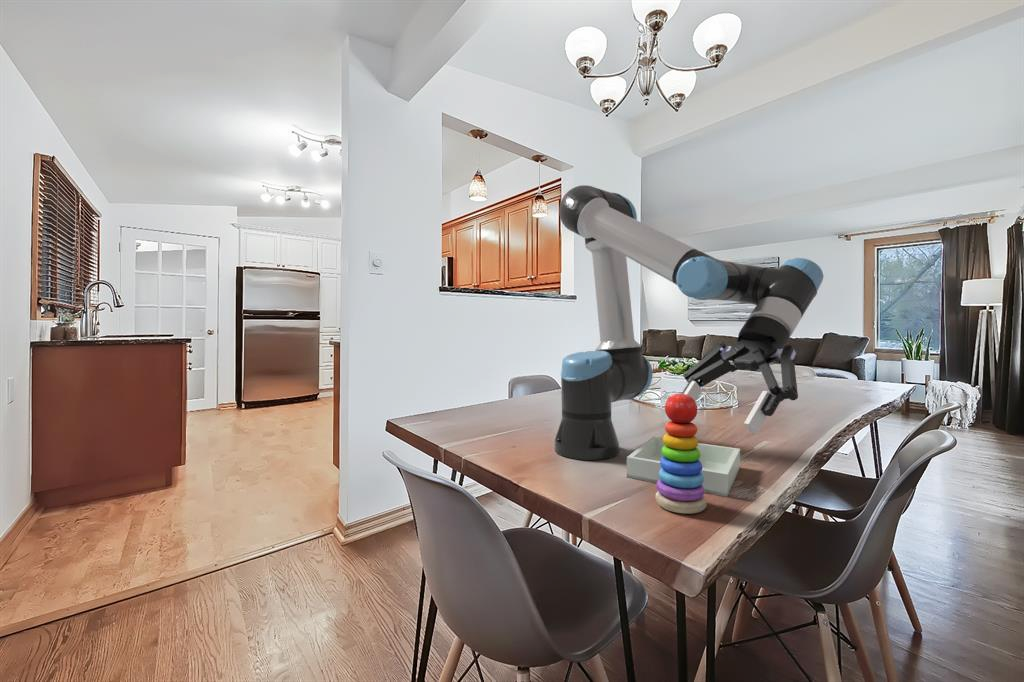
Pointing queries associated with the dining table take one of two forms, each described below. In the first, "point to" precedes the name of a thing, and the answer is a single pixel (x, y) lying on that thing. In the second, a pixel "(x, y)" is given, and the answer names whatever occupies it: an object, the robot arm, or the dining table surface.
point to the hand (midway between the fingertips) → (711, 420)
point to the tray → (715, 460)
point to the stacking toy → (681, 460)
